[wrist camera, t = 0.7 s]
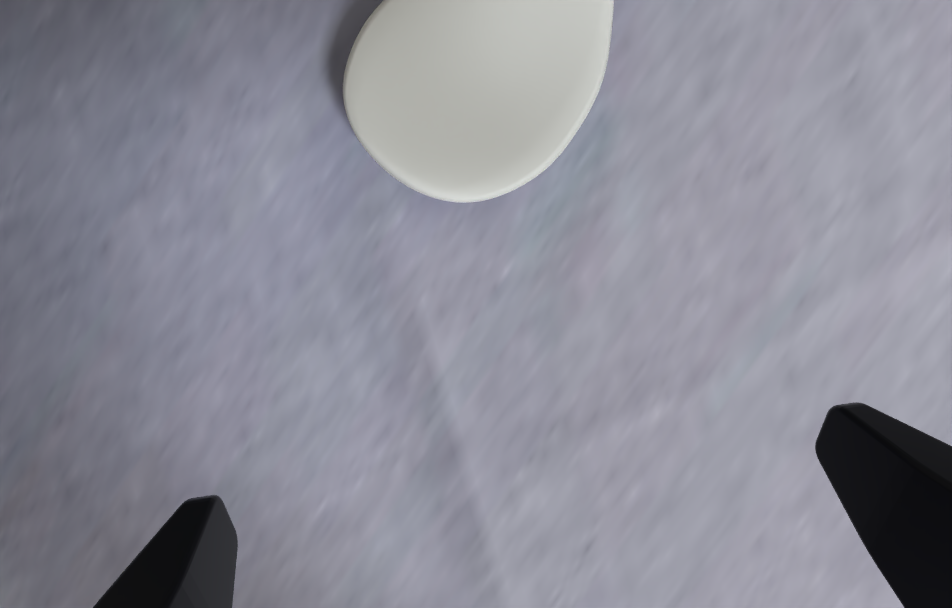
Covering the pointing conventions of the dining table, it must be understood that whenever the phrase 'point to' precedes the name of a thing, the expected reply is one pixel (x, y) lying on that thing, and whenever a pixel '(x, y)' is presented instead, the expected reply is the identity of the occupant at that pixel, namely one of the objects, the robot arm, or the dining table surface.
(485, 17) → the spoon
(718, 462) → the dining table surface
